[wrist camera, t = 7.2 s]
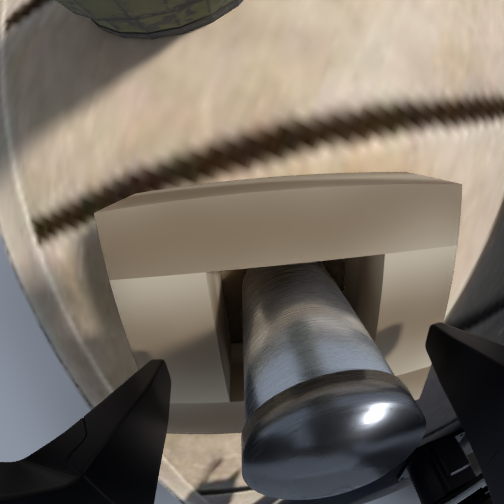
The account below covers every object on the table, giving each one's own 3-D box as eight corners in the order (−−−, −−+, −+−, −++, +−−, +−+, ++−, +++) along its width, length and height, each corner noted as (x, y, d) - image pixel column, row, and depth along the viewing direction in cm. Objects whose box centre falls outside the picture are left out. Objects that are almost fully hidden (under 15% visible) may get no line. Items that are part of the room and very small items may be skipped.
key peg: (329, 321, 14) (398, 477, 6) (244, 331, 14) (251, 506, 6) (330, 240, 13) (450, 379, 4) (234, 249, 13) (228, 423, 4)
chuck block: (389, 352, 15) (419, 398, 11) (178, 377, 15) (166, 433, 11) (407, 172, 12) (461, 184, 8) (135, 193, 12) (94, 213, 8)
